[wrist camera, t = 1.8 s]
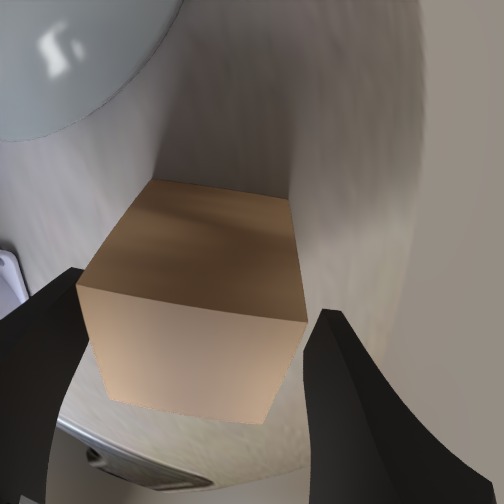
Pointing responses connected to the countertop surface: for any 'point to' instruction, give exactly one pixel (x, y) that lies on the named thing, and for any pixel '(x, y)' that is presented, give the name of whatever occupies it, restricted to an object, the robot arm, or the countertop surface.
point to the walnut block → (196, 302)
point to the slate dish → (71, 58)
